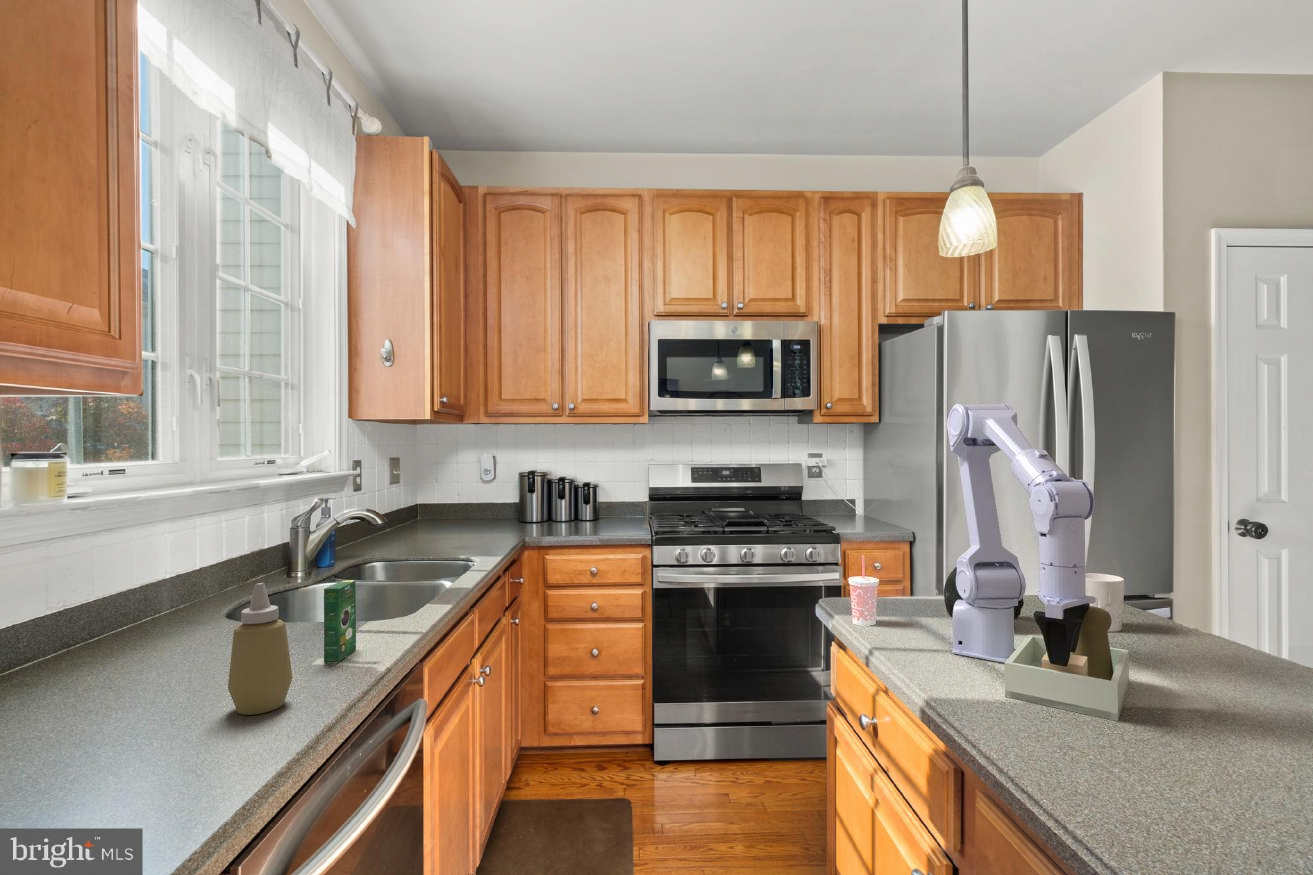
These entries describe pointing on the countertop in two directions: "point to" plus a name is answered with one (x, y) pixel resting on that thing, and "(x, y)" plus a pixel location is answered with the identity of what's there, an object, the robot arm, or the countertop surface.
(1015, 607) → the squash
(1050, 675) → the tote
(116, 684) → the countertop surface
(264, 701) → the squeeze bottle
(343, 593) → the coffee box
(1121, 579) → the white cup
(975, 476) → the robot arm
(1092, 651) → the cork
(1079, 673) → the maple cube
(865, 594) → the beverage cup
